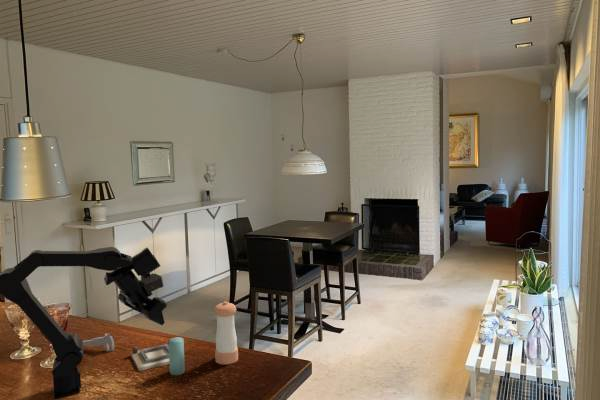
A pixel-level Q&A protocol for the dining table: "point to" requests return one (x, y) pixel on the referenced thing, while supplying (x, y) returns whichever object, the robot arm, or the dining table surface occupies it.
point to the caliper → (101, 342)
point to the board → (151, 356)
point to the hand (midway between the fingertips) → (155, 319)
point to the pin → (176, 356)
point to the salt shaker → (226, 334)
